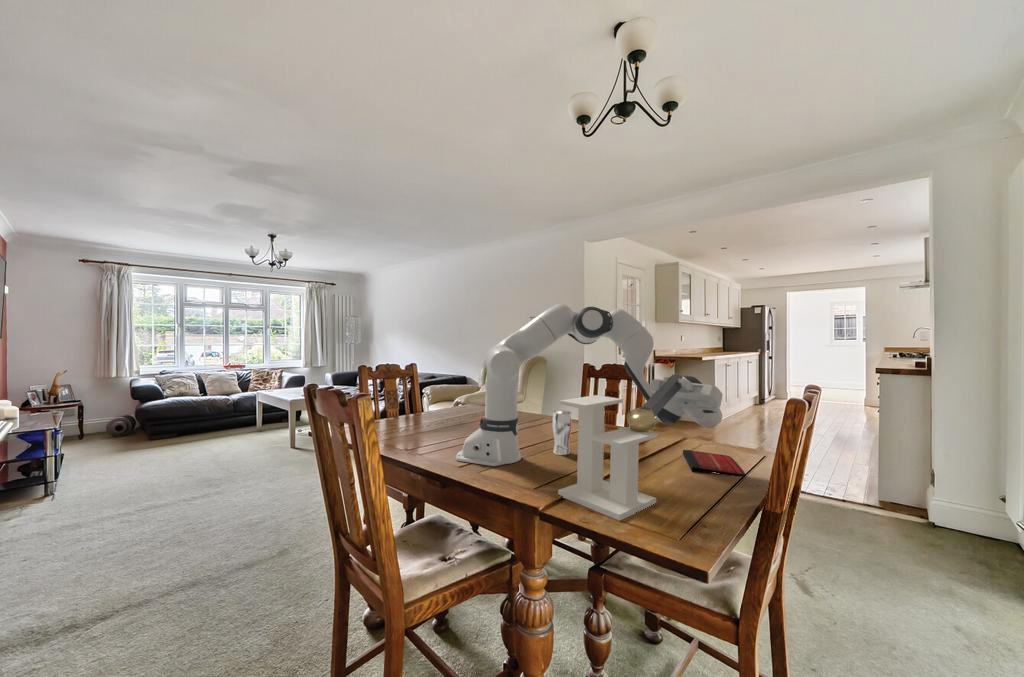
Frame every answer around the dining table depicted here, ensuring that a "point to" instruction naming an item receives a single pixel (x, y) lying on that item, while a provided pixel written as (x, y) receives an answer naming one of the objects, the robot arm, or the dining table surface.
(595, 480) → the rack
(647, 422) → the grey and gold bar
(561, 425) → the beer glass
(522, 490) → the dining table surface
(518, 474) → the dining table surface
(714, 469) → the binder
